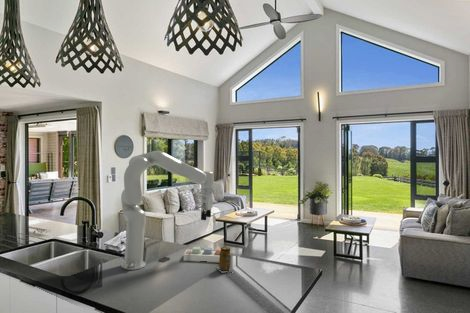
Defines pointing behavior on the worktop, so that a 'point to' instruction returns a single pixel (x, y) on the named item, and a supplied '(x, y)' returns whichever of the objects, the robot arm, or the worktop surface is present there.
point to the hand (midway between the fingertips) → (205, 218)
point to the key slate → (208, 251)
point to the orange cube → (218, 251)
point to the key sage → (196, 250)
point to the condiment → (224, 259)
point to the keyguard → (201, 256)
